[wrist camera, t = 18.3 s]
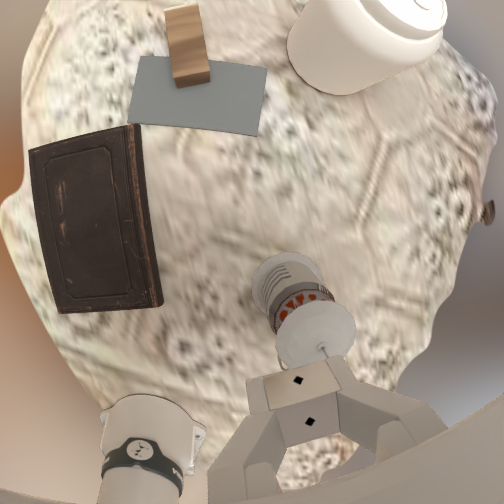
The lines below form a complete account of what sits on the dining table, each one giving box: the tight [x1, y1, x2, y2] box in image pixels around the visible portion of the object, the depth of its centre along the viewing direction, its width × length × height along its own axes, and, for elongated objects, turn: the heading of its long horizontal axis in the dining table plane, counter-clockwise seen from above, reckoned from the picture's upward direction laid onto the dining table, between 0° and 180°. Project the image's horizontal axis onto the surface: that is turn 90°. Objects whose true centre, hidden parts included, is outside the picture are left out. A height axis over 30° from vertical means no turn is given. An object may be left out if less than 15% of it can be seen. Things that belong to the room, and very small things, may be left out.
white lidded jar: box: [286, 0, 447, 95], centre depth 25 cm, size 12×12×20 cm
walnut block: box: [164, 3, 210, 89], centre depth 30 cm, size 4×4×10 cm
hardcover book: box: [28, 124, 164, 314], centre depth 37 cm, size 16×23×2 cm
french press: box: [251, 252, 356, 371], centre depth 30 cm, size 10×12×25 cm
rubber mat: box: [127, 56, 267, 136], centre depth 34 cm, size 9×16×1 cm, turn 82°
